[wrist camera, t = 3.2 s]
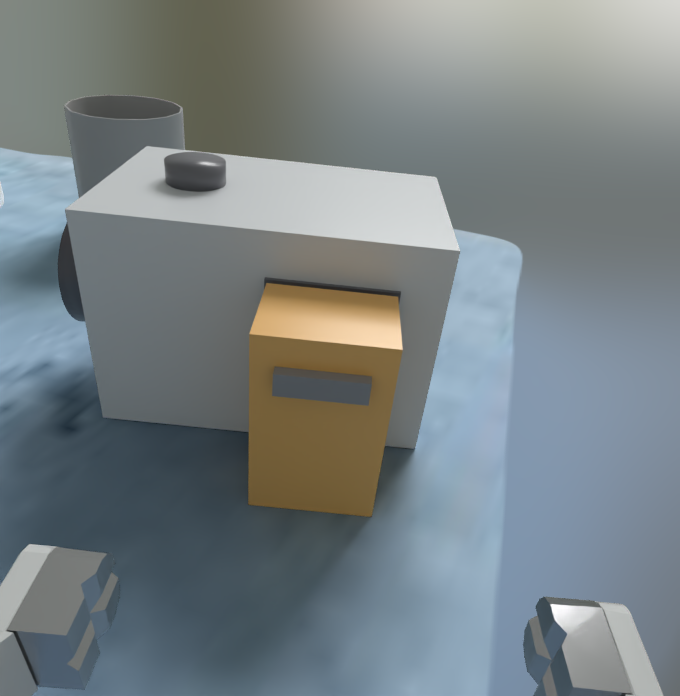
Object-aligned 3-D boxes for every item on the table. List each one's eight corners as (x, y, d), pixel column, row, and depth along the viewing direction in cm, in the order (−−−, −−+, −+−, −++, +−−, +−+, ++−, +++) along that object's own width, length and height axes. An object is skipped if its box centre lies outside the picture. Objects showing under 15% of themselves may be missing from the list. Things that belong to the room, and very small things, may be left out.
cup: (154, 260, 44) (141, 125, 38) (63, 239, 46) (38, 107, 40) (206, 224, 51) (201, 105, 45) (125, 207, 52) (111, 90, 47)
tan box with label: (371, 526, 25) (403, 357, 20) (246, 513, 25) (246, 341, 20) (371, 453, 29) (398, 296, 24) (262, 442, 28) (266, 282, 23)
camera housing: (415, 451, 29) (466, 229, 22) (49, 414, 29) (-10, 179, 22) (404, 343, 37) (439, 158, 31) (123, 313, 37) (96, 121, 30)
